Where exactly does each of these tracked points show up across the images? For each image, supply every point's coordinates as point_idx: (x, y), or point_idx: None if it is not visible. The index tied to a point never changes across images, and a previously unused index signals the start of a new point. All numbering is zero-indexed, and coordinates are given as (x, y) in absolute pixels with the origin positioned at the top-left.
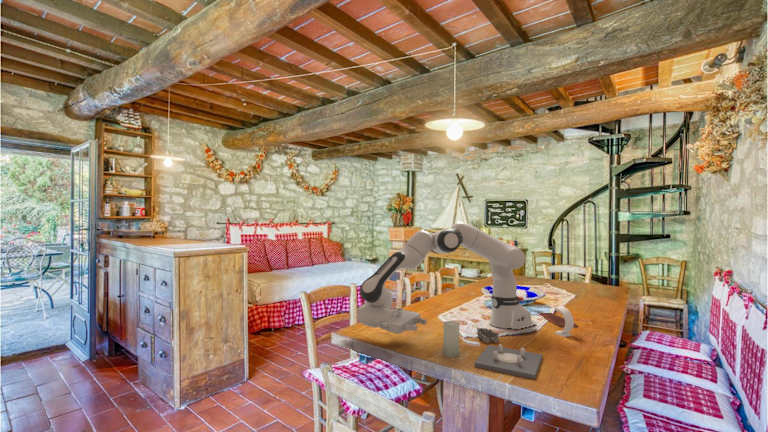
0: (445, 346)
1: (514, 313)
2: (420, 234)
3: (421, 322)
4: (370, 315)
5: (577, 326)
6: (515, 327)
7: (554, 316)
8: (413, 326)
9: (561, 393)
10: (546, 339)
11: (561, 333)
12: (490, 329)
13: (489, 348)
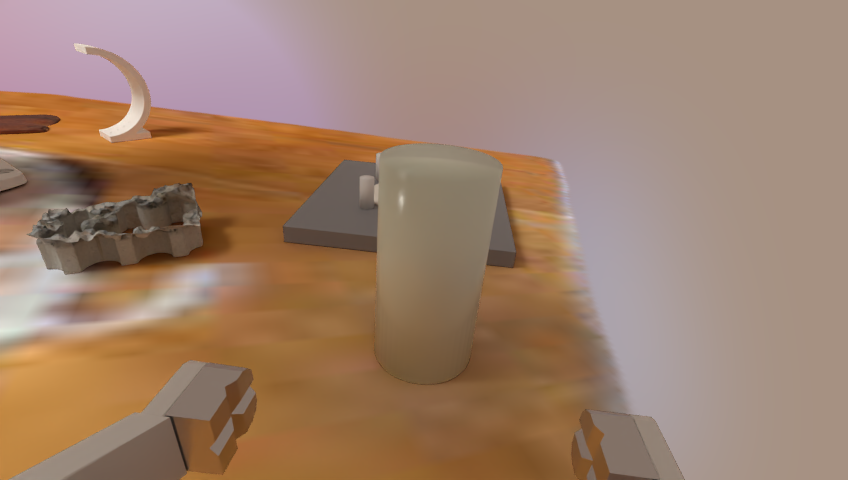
0: (472, 319)
1: None
2: None
3: (220, 453)
4: None
5: (57, 117)
6: (15, 174)
7: None
8: (667, 447)
9: (533, 172)
10: (169, 155)
11: (137, 131)
12: (52, 211)
13: (331, 224)
